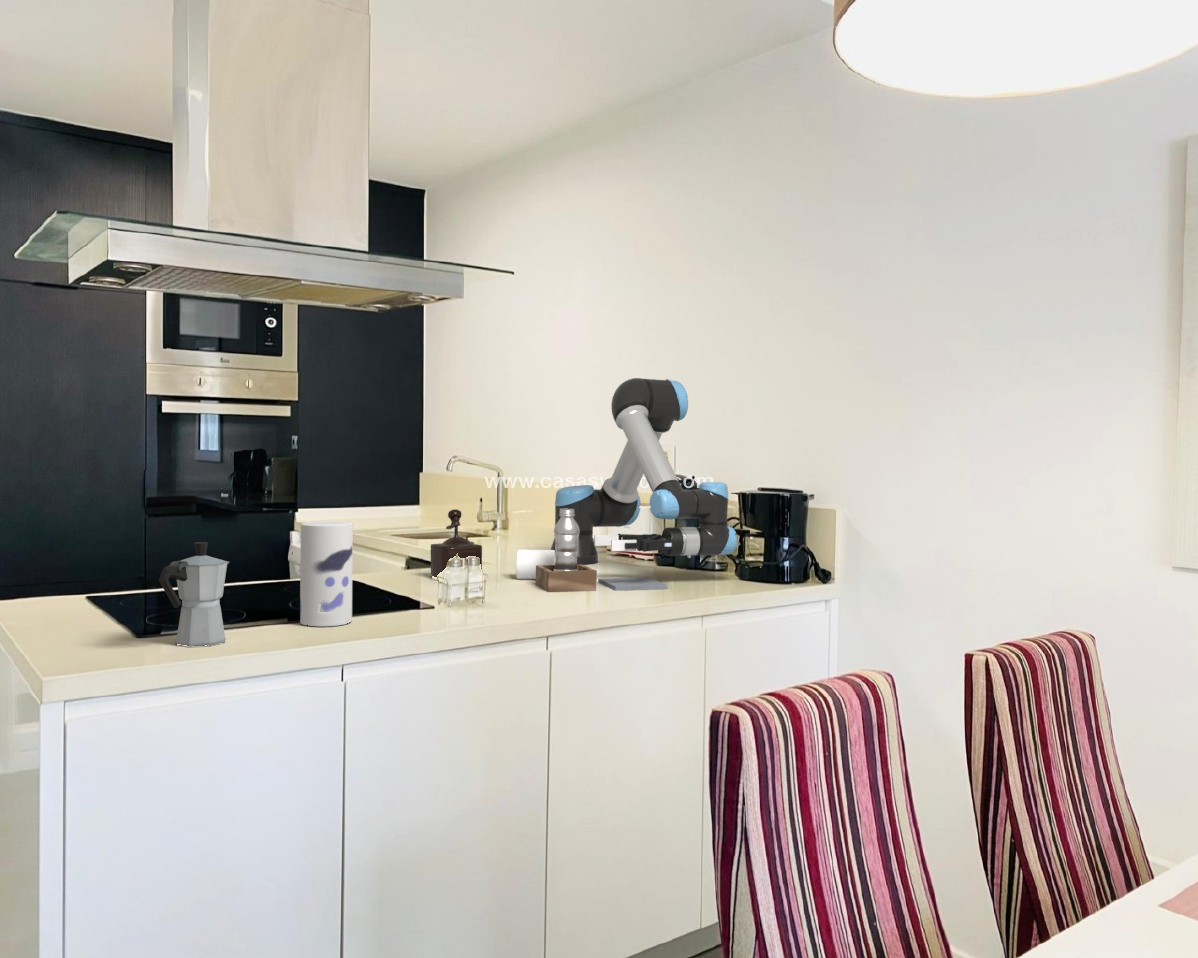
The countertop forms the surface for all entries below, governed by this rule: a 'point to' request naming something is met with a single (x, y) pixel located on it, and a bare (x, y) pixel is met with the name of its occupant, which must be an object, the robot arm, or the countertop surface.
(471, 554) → the manual coffee grinder
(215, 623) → the coffee maker
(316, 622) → the container
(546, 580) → the holder
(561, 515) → the plastic bottle
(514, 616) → the countertop surface
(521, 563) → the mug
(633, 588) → the mat
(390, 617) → the countertop surface
